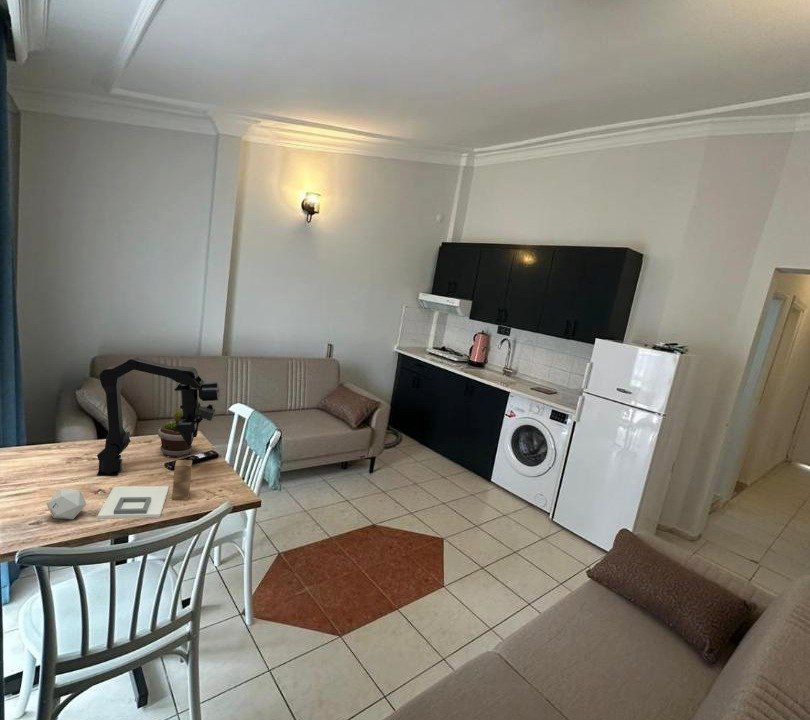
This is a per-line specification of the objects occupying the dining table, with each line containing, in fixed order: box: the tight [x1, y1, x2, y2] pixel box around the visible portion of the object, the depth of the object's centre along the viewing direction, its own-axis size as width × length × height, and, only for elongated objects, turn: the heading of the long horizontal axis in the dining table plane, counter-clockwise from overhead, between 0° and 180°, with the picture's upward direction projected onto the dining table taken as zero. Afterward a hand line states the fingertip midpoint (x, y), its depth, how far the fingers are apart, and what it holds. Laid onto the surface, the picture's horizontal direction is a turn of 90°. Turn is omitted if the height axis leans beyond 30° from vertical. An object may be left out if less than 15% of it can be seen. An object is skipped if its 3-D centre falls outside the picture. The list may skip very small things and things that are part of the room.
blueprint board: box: [96, 485, 170, 520], centre depth 152 cm, size 17×20×2 cm
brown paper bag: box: [171, 459, 193, 501], centre depth 159 cm, size 5×5×12 cm
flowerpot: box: [157, 407, 195, 458], centre depth 193 cm, size 14×15×20 cm
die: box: [46, 488, 87, 520], centre depth 138 cm, size 8×9×10 cm
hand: (192, 441), depth 174 cm, fingers open, 9 cm apart
